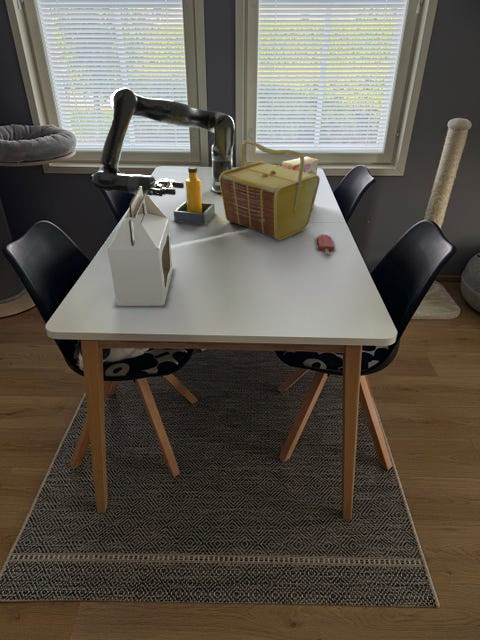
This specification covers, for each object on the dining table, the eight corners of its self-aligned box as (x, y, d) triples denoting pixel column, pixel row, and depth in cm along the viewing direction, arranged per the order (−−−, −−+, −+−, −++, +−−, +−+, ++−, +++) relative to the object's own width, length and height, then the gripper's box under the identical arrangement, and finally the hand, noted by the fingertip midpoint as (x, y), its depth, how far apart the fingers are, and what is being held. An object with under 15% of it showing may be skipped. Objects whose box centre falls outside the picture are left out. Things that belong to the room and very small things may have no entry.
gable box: (164, 306, 126) (154, 210, 110) (116, 306, 125) (100, 209, 110) (172, 269, 144) (165, 182, 128) (131, 269, 144) (119, 182, 128)
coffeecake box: (290, 213, 187) (294, 165, 177) (278, 208, 192) (281, 161, 181) (314, 205, 196) (319, 159, 185) (301, 201, 200) (306, 155, 189)
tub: (185, 211, 188) (185, 200, 185) (214, 214, 185) (214, 203, 182) (174, 222, 178) (173, 211, 175) (204, 225, 175) (204, 214, 172)
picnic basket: (317, 227, 175) (326, 146, 158) (275, 247, 159) (280, 160, 143) (260, 208, 191) (263, 134, 175) (217, 225, 176) (215, 144, 159)
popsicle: (320, 251, 153) (316, 234, 166) (319, 255, 154) (316, 238, 166) (335, 252, 153) (331, 234, 165) (335, 256, 154) (330, 238, 166)
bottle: (198, 213, 184) (196, 164, 173) (204, 218, 180) (202, 168, 169) (185, 216, 182) (182, 166, 171) (191, 220, 178) (189, 170, 167)
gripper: (132, 180, 172) (171, 184, 168) (148, 170, 183) (185, 174, 180) (134, 199, 176) (173, 204, 172) (150, 188, 187) (186, 192, 184)
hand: (179, 188), depth 176 cm, fingers open, 8 cm apart
